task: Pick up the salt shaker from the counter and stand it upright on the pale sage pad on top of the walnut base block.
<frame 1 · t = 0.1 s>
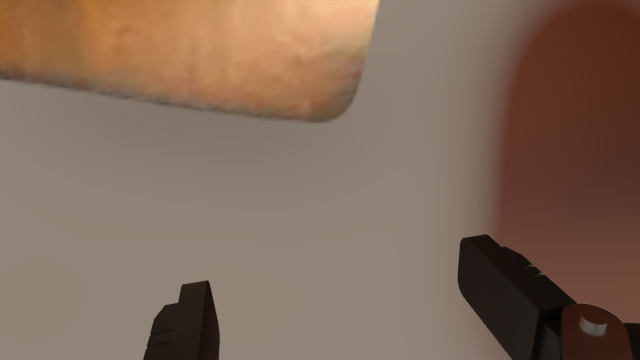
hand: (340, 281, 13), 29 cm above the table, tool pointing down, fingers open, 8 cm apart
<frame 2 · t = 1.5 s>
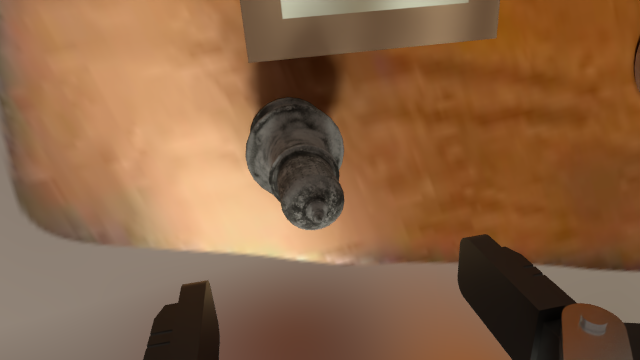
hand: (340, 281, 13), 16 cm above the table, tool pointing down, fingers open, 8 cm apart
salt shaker: (289, 135, 28), on the table
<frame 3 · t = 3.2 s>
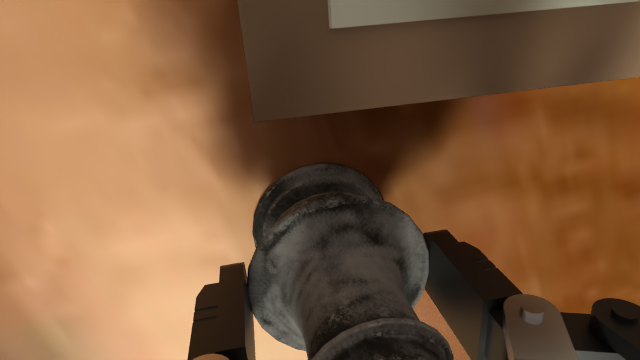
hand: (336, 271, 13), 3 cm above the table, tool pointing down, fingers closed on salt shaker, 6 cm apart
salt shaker: (319, 223, 16), on the table, touching gripper
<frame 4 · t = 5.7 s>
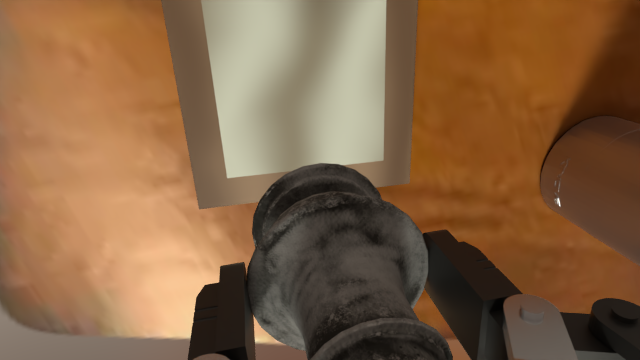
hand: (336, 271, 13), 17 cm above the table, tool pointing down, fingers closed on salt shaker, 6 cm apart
base block: (293, 77, 28), on the table
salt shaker: (319, 223, 16), point 14 cm above the table, touching gripper
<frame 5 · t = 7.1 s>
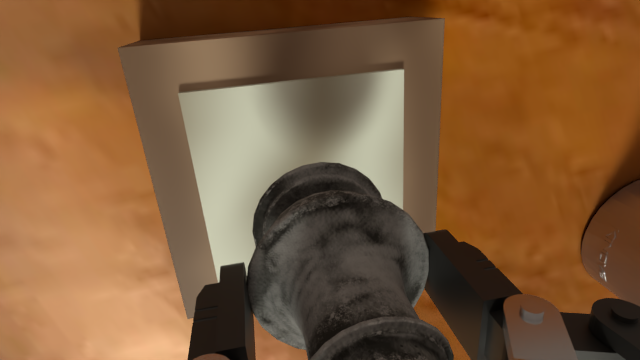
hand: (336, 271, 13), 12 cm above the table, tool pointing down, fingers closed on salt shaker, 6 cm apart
base block: (294, 155, 24), on the table
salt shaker: (319, 222, 16), point 8 cm above the table, touching gripper
when the fingers open (8 cm above the table, at t = 8.2 s): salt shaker drops 1 cm, resting on base block.
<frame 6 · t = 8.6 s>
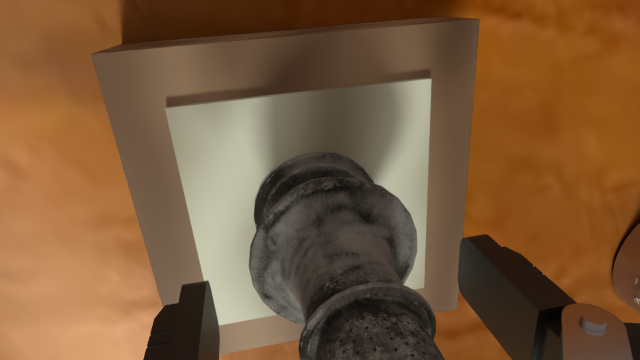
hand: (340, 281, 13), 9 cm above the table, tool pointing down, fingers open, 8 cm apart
base block: (300, 174, 21), on the table
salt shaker: (316, 209, 17), point 4 cm above the table, touching base block
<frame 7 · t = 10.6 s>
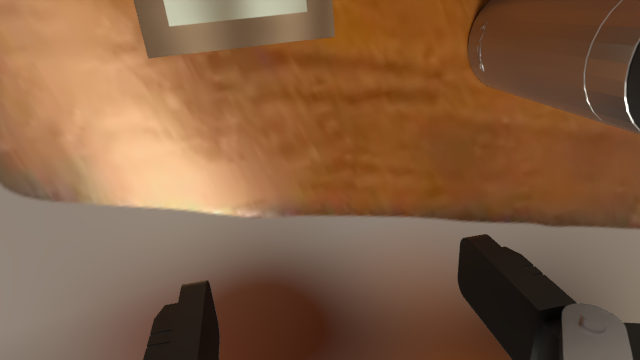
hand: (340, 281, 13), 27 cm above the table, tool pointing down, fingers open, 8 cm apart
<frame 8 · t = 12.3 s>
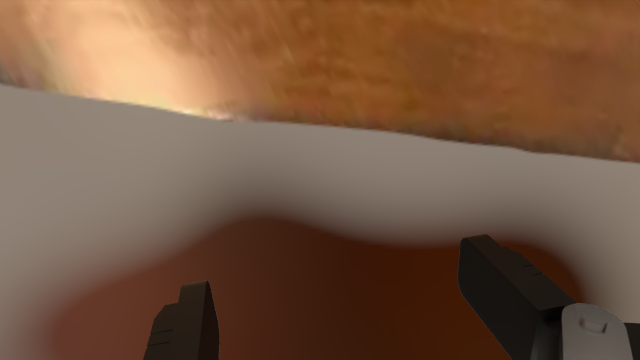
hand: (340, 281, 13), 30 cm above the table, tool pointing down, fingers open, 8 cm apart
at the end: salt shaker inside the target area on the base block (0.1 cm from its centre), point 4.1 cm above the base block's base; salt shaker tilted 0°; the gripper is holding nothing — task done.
